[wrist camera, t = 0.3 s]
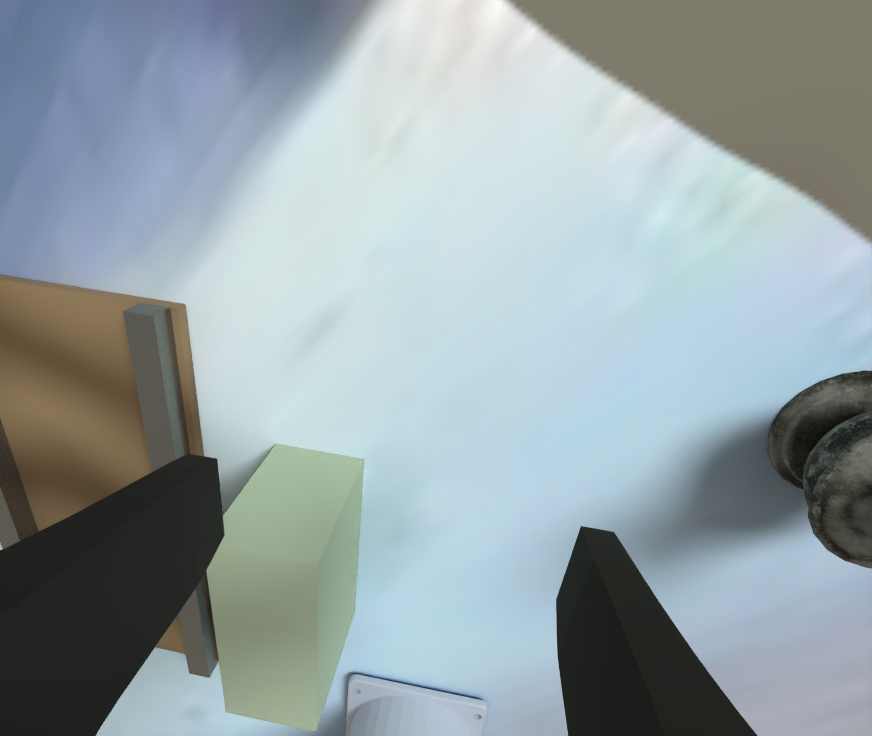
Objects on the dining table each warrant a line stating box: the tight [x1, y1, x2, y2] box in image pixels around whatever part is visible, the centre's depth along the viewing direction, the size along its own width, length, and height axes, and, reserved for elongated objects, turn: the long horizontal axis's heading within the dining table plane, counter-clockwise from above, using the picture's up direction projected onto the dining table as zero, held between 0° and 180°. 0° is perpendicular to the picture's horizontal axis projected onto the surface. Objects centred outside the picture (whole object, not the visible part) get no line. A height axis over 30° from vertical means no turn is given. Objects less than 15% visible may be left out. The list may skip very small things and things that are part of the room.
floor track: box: [0, 275, 219, 678], centre depth 24 cm, size 22×11×2 cm, turn 173°
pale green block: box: [206, 444, 364, 732], centre depth 21 cm, size 10×4×6 cm, turn 173°
